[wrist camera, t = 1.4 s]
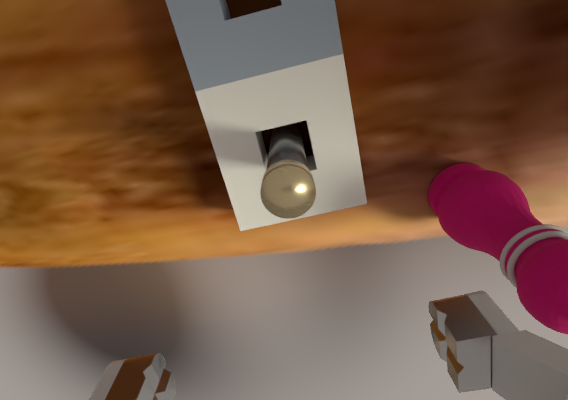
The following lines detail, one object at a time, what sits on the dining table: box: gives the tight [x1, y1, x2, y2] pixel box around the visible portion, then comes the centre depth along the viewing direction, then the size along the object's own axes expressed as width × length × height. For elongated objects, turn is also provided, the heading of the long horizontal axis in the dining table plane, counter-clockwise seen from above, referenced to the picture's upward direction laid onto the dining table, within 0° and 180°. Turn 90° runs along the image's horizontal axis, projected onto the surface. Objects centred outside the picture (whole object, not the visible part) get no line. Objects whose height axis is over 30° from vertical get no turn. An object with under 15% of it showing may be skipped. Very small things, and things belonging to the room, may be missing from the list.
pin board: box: [165, 0, 367, 231], centre depth 30 cm, size 12×26×4 cm, turn 13°
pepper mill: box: [428, 163, 568, 334], centre depth 28 cm, size 7×7×20 cm
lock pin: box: [260, 124, 316, 219], centre depth 28 cm, size 3×3×14 cm
